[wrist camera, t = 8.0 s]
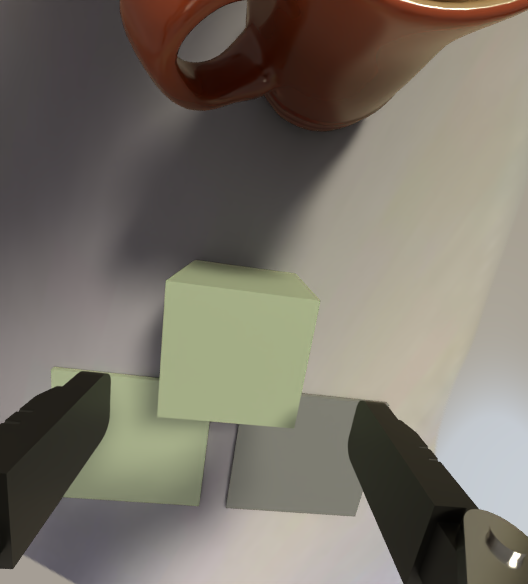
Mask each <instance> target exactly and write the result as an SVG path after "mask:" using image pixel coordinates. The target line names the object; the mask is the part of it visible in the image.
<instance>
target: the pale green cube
mask: <svg viewBox="0 0 528 584" xmlns="http://www.w3.org/2000/svg"><path fill="white" fill-rule="evenodd" d="M319 305H320V300H319V299H318V298H317V297H316V296H315V294H314V293H313V292H312V291H311V290H310V289H309V288H308V287H307V286H306V285H305V284H304V282H303V281H302V280H301V279H300V278H299V277H298V276H297V275H296V274H294V273H287V272H280V271H272V270H265V269H258V268H251V267H243V266H236V265H229V264H222V263H214V262H207V261H200V260H194V261H193V262H191V263H190V264H189V265H187V266H186V267H184V268H183V269H182V270H180V271H179V272H177V273H176V274H175V275H173V276H172V277H170V278H169V279H168V280H166V286H165V301H164V317H163V333H162V348H161V364H160V380H159V395H158V411H157V417H165V418H176V419H188V420H200V421H211V422H223V423H235V424H247V425H258V426H270V427H282V428H294V427H295V422H296V418H297V413H298V408H299V403H300V398H301V393H302V388H303V383H304V378H305V373H306V369H307V364H308V359H309V354H310V349H311V344H312V339H313V334H314V329H315V325H316V320H317V315H318V310H319Z"/></svg>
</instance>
